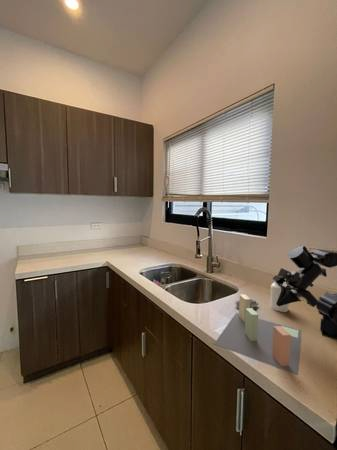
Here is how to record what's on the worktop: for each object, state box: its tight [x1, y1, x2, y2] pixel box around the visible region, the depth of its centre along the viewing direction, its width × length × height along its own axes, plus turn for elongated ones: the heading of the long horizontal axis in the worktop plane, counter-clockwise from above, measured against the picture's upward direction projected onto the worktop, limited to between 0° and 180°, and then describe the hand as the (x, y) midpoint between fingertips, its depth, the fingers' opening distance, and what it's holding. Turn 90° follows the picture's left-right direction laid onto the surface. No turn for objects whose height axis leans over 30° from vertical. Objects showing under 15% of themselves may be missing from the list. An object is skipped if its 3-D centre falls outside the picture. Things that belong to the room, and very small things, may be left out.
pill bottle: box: [269, 280, 290, 313], centre depth 107 cm, size 8×8×15 cm
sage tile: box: [245, 308, 259, 341], centre depth 83 cm, size 2×5×10 cm, turn 6°
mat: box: [213, 312, 302, 375], centre depth 83 cm, size 26×28×1 cm
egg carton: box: [234, 298, 260, 310], centre depth 108 cm, size 11×8×4 cm
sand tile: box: [238, 293, 251, 322], centre depth 96 cm, size 2×5×10 cm, turn 6°
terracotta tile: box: [272, 326, 291, 366], centre depth 70 cm, size 2×5×10 cm, turn 6°
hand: (277, 305), depth 83 cm, fingers closed
